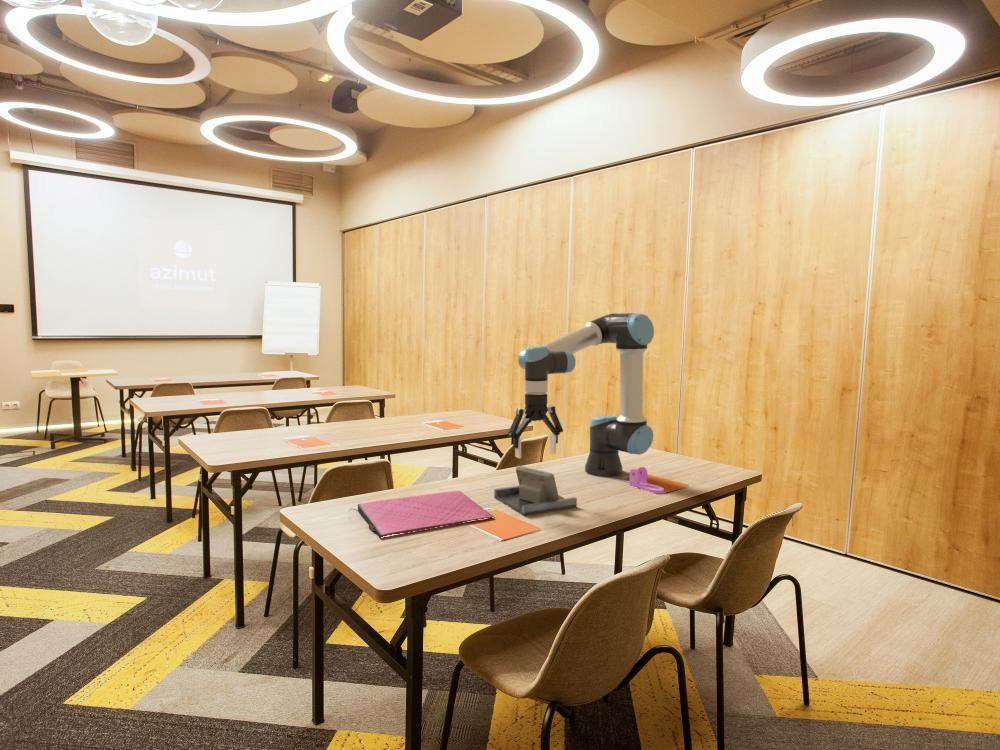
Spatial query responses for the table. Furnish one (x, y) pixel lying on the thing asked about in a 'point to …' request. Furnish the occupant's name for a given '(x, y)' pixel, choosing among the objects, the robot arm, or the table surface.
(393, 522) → the laptop bag
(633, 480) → the bracket
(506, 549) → the table surface
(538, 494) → the digital clock
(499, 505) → the table surface
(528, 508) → the rail plate
